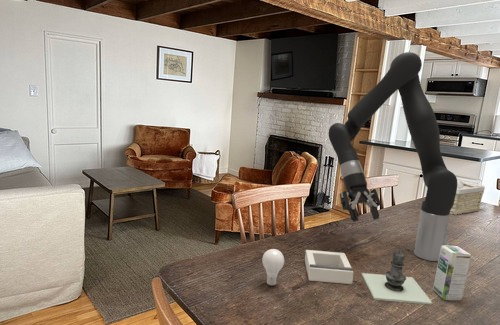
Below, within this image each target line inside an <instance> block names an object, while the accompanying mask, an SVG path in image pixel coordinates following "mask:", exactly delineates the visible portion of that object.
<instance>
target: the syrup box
mask: <svg viewBox="0 0 500 325" xmlns="http://www.w3.org/2000/svg"><path fill="white" fill-rule="evenodd" d="M471 258H472V254H471V253H469V252H467V251H465V250H464V249H462V248H461V247H460V246H456V245H448V244H447V245H446V246H441V250H440V255H439V261H437V265H436V266H437V267H436V271H435V278H434V283H433V286H432V290H433V292H435V293H436V294H437V295H438V296H439V297H440V298H441V299H442V300H443V301H462V300H463V298H464V297H463V295H464V291H465V287H466V282H467V277H468V274H469V273H468V272H469V268H470V264H471V263H470V262H471Z"/></svg>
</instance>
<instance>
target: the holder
mask: <svg viewBox="0 0 500 325" xmlns="http://www.w3.org/2000/svg"><path fill="white" fill-rule="evenodd" d="M304 264H305V268H306V273H307V278H308V281H309V282H310V281H311V282H312V281H313V282H322V283H323V282H325V283H333V284H334V283H336V284H343V285H344V284H346V285H353V279H354V267H352V266H351V264H350V262H349V260H348V257H347V256H346V253H344V252H339V251H338V252H337V251H324V250H314V249H313V250H312V249H311V250H310V249H305V257H304Z"/></svg>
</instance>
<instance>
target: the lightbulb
mask: <svg viewBox="0 0 500 325" xmlns="http://www.w3.org/2000/svg"><path fill="white" fill-rule="evenodd" d="M261 261H262V265H263V267H264V269H265V272H266V275H267V278H266V284H267V285H268V286H275V285H276V284H277V277H278V274H279V272H280V271H281V269H282V268H283V267H284V264H285V257H284V255H283V253H282V252H281V251H280V250H279V249H276V248H270V249H268V250H266V251H265V252H264V253H263V255H262V260H261Z"/></svg>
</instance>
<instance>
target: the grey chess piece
mask: <svg viewBox="0 0 500 325" xmlns="http://www.w3.org/2000/svg"><path fill="white" fill-rule="evenodd" d="M392 255H393V256H392V261H390V264H391V265H390V266H391V267H390V270H387V271H386V272H384V275H386V279H387V281H388V282H386V283H385V287H387V288H388V289H390V290H392V291H397V292H399V291H403V286H401V285H402V284H403V283H404V282H405V280H406V277H407V276H406V275H404V274H403V268H404V266H405V264H404V260H405V259H404V258H405V255H404V253H403V252H401V249H398V251H394V253H393V254H392Z"/></svg>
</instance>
